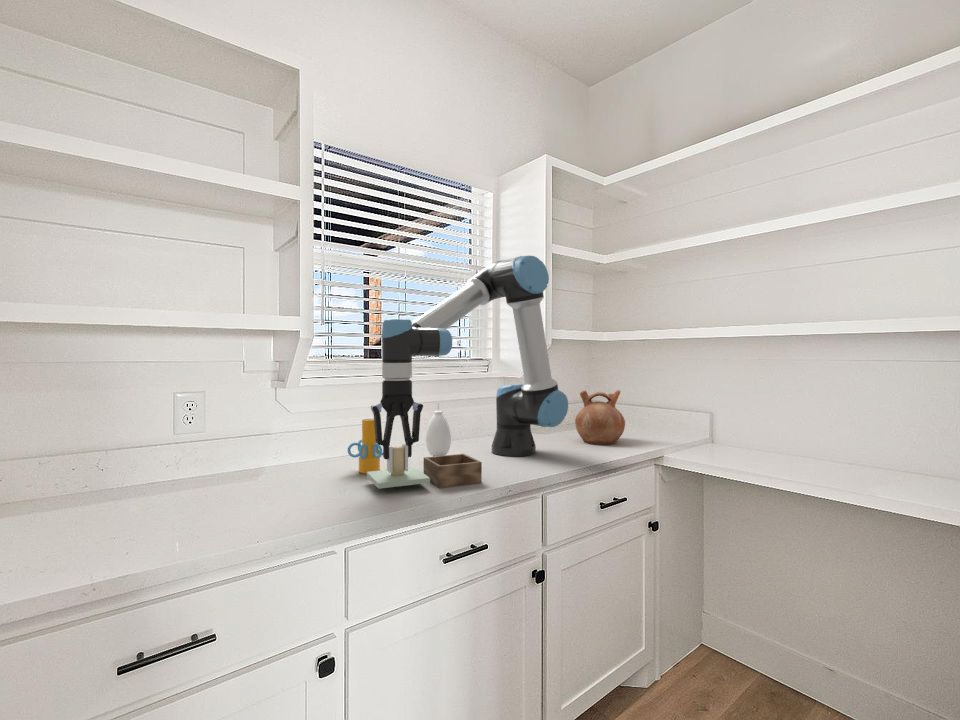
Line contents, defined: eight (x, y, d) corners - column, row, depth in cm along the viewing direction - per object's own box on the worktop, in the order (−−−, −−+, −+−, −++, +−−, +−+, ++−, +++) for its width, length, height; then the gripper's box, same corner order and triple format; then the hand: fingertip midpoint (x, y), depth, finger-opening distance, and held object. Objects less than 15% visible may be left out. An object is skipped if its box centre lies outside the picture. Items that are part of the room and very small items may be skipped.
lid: (414, 471, 138) (414, 441, 138) (430, 482, 126) (429, 449, 126) (366, 476, 132) (366, 445, 132) (378, 488, 120) (378, 454, 120)
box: (463, 472, 143) (463, 453, 143) (481, 482, 132) (481, 462, 132) (423, 477, 138) (423, 457, 138) (438, 488, 127) (438, 466, 127)
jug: (623, 439, 199) (623, 388, 198) (626, 447, 181) (626, 392, 181) (576, 437, 203) (576, 387, 202) (574, 445, 185) (574, 391, 185)
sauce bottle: (441, 462, 157) (441, 404, 157) (421, 459, 161) (421, 403, 161) (455, 457, 164) (455, 402, 164) (435, 455, 168) (435, 401, 167)
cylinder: (378, 477, 138) (377, 423, 138) (342, 475, 140) (342, 422, 140) (394, 467, 150) (394, 417, 150) (361, 466, 152) (361, 416, 152)
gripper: (423, 377, 136) (423, 464, 136) (361, 379, 129) (362, 470, 129) (432, 379, 129) (432, 470, 129) (368, 381, 122) (368, 477, 122)
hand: (397, 470), depth 129 cm, fingers closed on lid, 3 cm apart
